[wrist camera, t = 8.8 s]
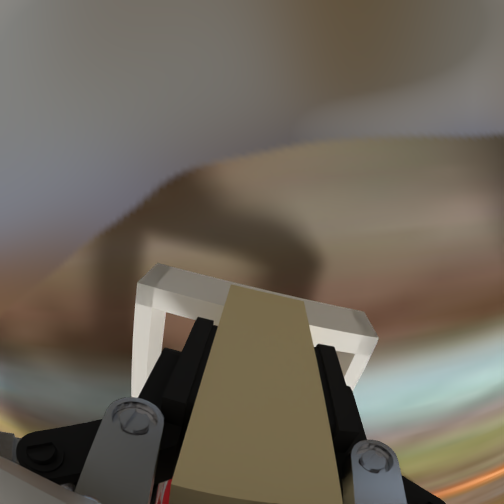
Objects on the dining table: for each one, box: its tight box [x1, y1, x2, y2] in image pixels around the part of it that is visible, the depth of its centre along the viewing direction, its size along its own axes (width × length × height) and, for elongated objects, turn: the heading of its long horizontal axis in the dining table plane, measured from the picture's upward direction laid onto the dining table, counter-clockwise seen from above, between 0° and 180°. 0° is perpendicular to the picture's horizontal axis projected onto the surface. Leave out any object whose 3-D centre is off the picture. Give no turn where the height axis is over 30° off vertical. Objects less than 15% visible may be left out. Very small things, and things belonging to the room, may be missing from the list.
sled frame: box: [131, 263, 379, 504], centre depth 13 cm, size 22×11×12 cm, turn 167°
